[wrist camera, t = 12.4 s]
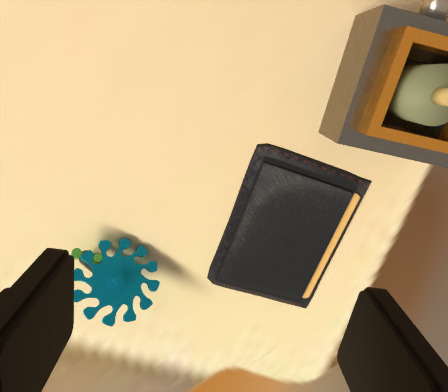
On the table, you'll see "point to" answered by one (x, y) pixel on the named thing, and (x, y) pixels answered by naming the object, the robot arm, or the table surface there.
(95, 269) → the gear
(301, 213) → the dark grey flat slab
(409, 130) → the box
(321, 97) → the table surface
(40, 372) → the robot arm
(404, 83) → the spout can
